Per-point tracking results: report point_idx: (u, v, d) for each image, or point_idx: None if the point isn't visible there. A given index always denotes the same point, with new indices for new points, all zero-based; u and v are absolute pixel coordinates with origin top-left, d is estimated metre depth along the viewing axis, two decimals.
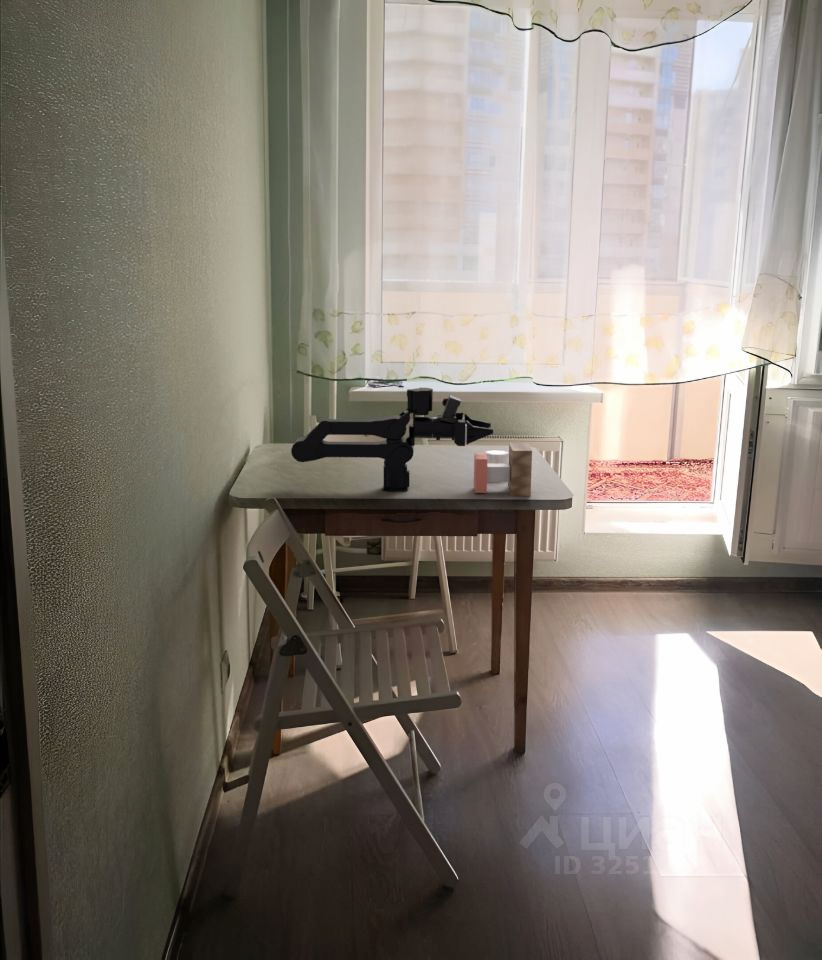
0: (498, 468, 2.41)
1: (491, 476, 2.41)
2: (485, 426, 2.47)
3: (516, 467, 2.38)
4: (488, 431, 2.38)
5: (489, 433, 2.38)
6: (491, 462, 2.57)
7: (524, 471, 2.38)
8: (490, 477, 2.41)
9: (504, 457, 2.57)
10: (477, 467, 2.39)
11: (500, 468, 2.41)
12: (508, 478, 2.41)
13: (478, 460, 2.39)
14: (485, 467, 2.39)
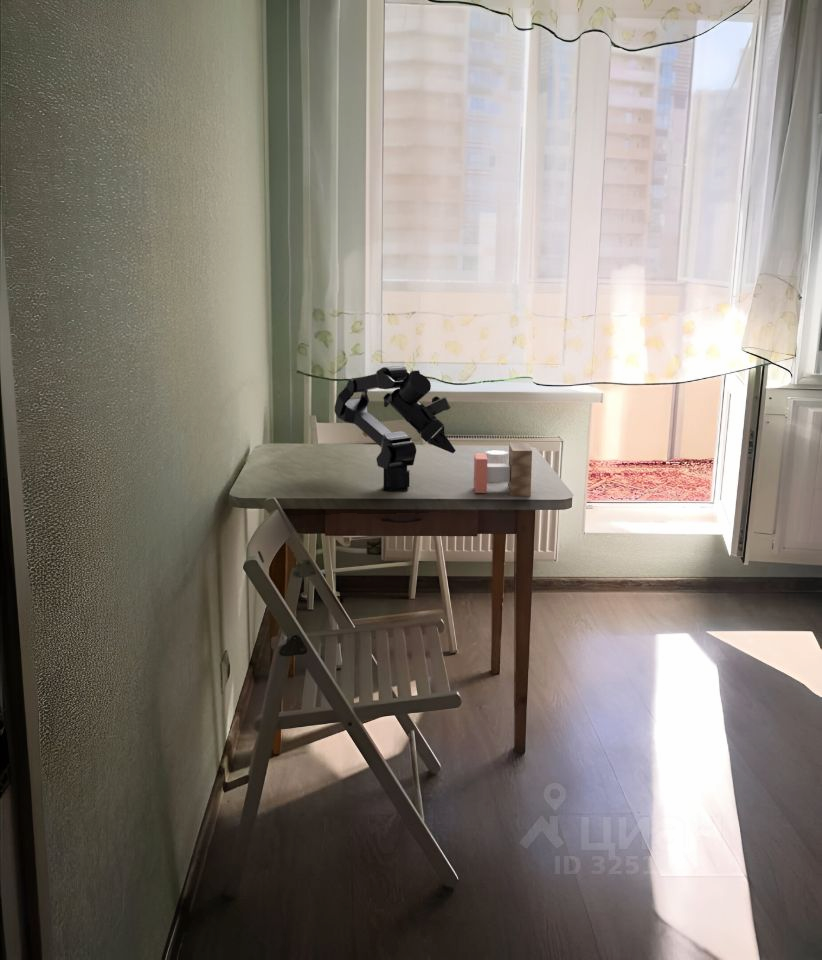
0: (498, 468, 2.41)
1: (491, 476, 2.41)
2: None
3: (516, 467, 2.38)
4: (451, 449, 2.36)
5: (450, 450, 2.36)
6: (491, 462, 2.57)
7: (524, 471, 2.38)
8: (490, 477, 2.41)
9: (504, 457, 2.57)
10: (477, 467, 2.39)
11: (500, 468, 2.41)
12: (508, 478, 2.41)
13: (478, 460, 2.39)
14: (485, 467, 2.39)
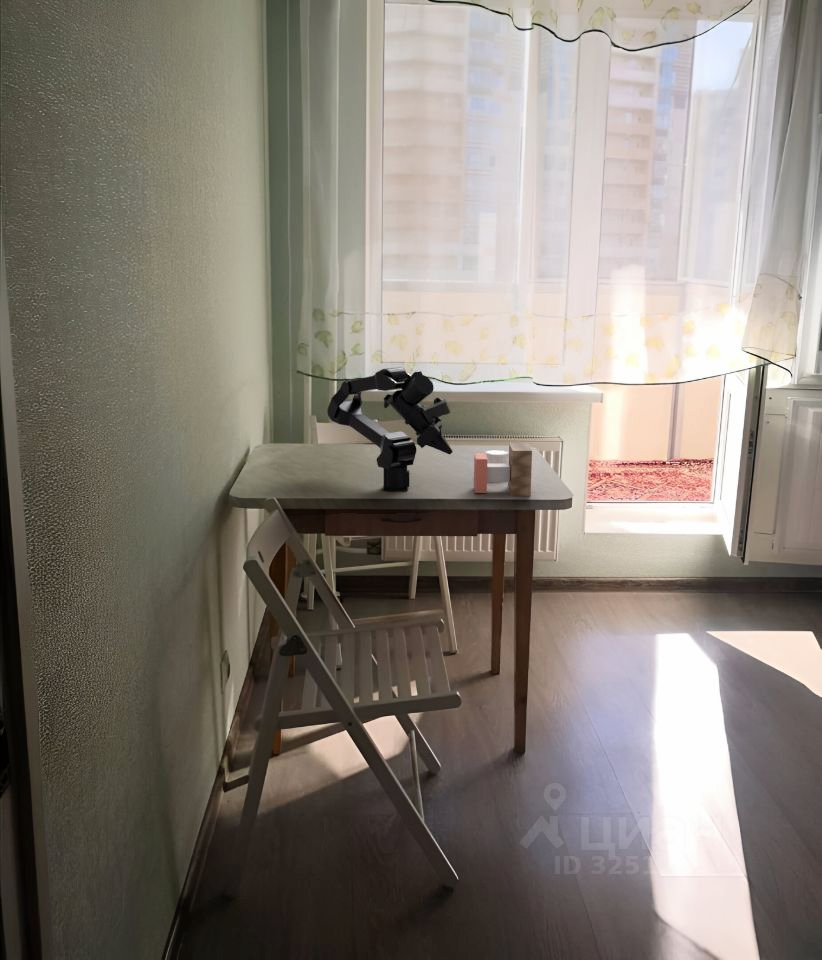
0: (498, 468, 2.41)
1: (491, 476, 2.41)
2: None
3: (516, 467, 2.38)
4: (448, 450, 2.41)
5: (447, 452, 2.41)
6: (491, 462, 2.57)
7: (524, 471, 2.38)
8: (490, 477, 2.41)
9: (504, 457, 2.57)
10: (477, 467, 2.39)
11: (500, 468, 2.41)
12: (508, 478, 2.41)
13: (478, 460, 2.39)
14: (485, 467, 2.39)
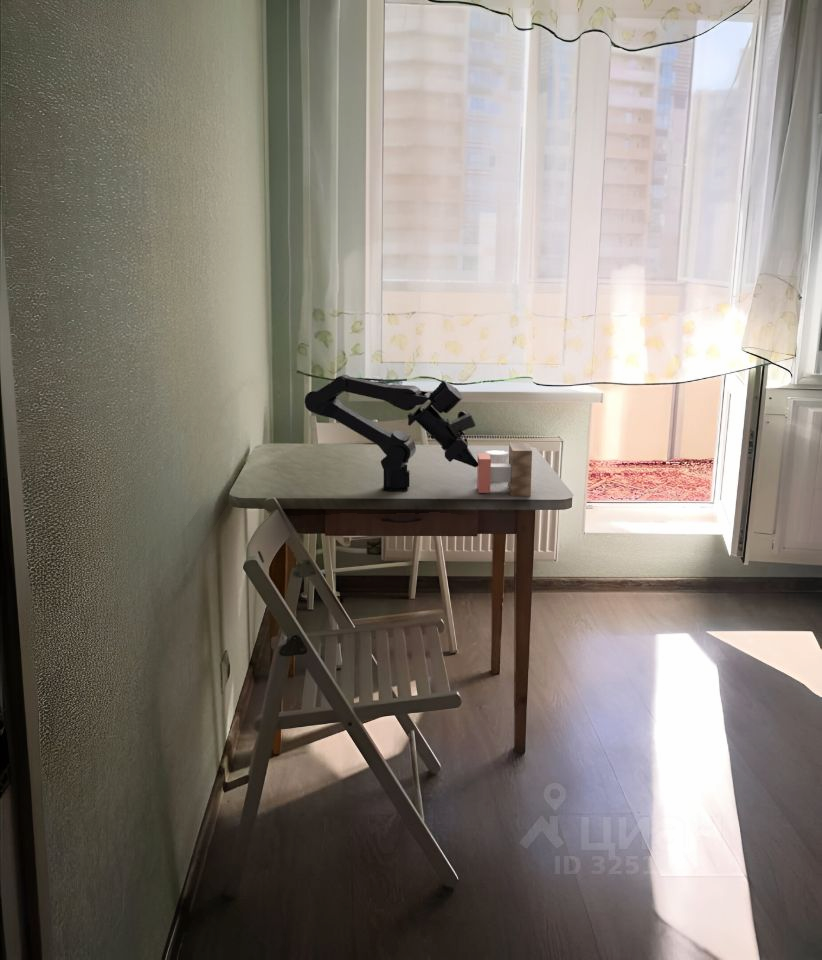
0: (501, 468, 2.41)
1: (494, 476, 2.41)
2: None
3: (516, 467, 2.38)
4: (474, 463, 2.42)
5: (473, 465, 2.42)
6: (491, 462, 2.57)
7: (524, 471, 2.38)
8: (493, 477, 2.41)
9: (504, 457, 2.57)
10: (480, 467, 2.39)
11: (503, 468, 2.41)
12: None
13: (481, 460, 2.39)
14: (488, 467, 2.39)
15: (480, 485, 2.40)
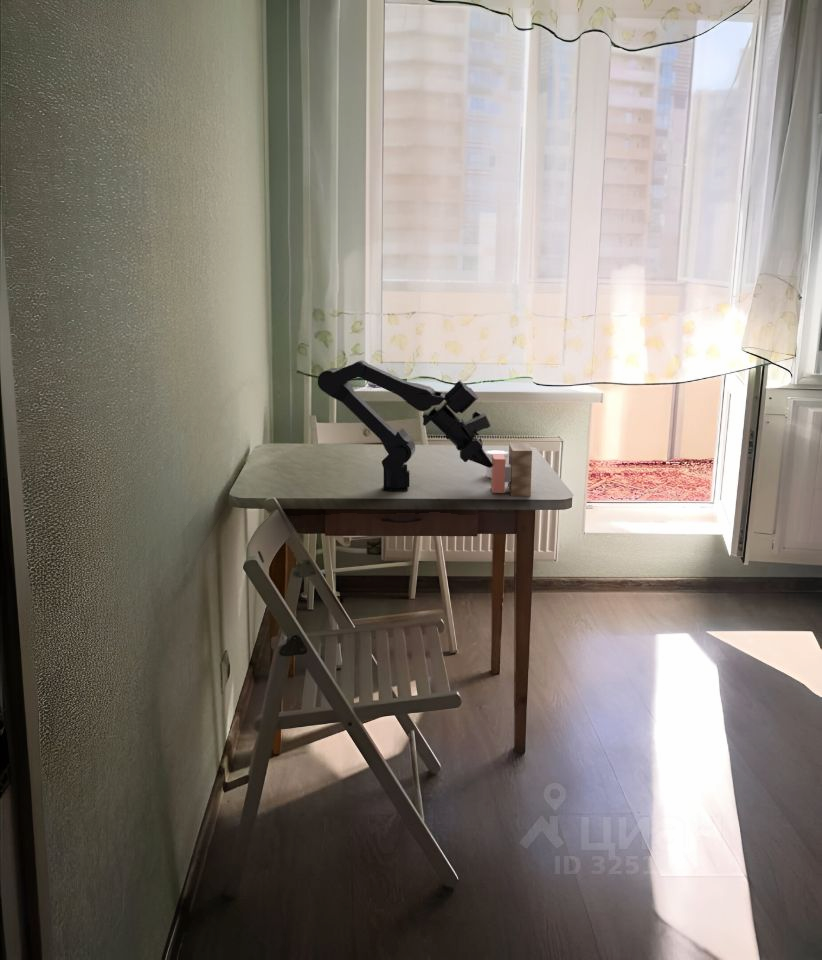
0: None
1: (509, 476, 2.41)
2: None
3: (516, 467, 2.38)
4: (488, 463, 2.42)
5: (488, 465, 2.42)
6: (491, 462, 2.57)
7: (524, 471, 2.38)
8: (508, 477, 2.41)
9: None
10: (495, 467, 2.39)
11: None
12: None
13: (496, 460, 2.39)
14: (503, 467, 2.39)
15: (495, 485, 2.40)
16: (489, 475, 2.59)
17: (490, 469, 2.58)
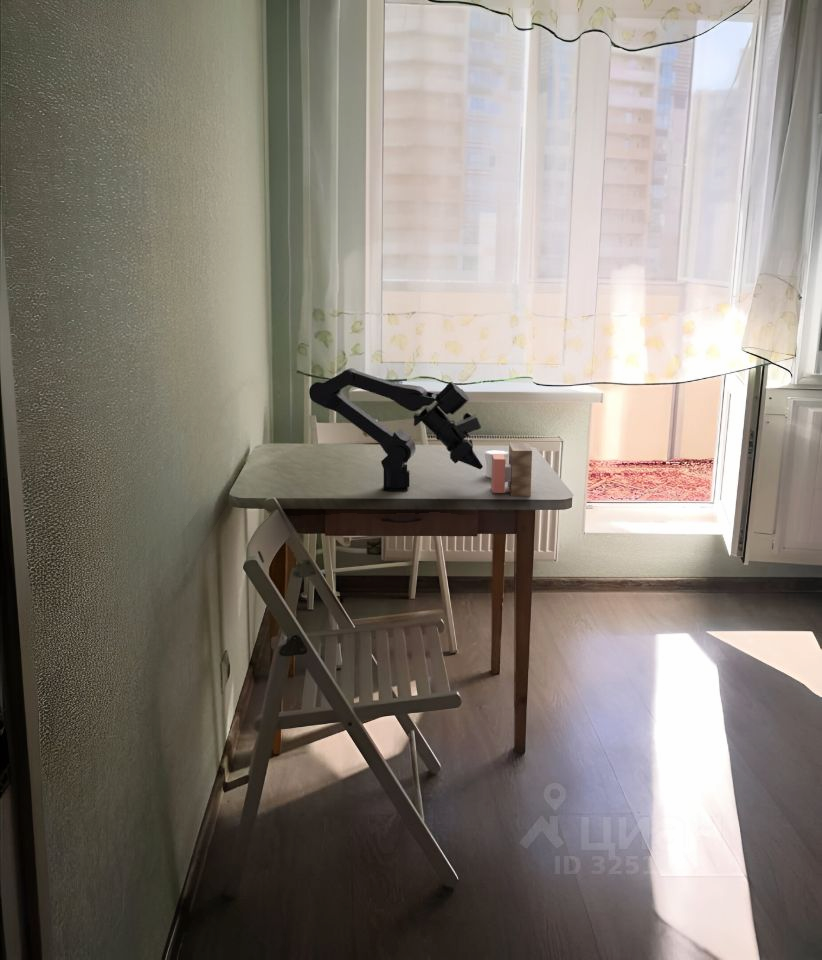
0: None
1: (509, 476, 2.41)
2: None
3: (516, 467, 2.38)
4: (478, 465, 2.42)
5: (478, 467, 2.42)
6: (491, 462, 2.57)
7: (524, 471, 2.38)
8: (508, 477, 2.41)
9: None
10: (495, 467, 2.39)
11: None
12: None
13: (496, 460, 2.39)
14: (503, 467, 2.39)
15: (495, 485, 2.40)
16: (489, 475, 2.59)
17: (490, 469, 2.58)
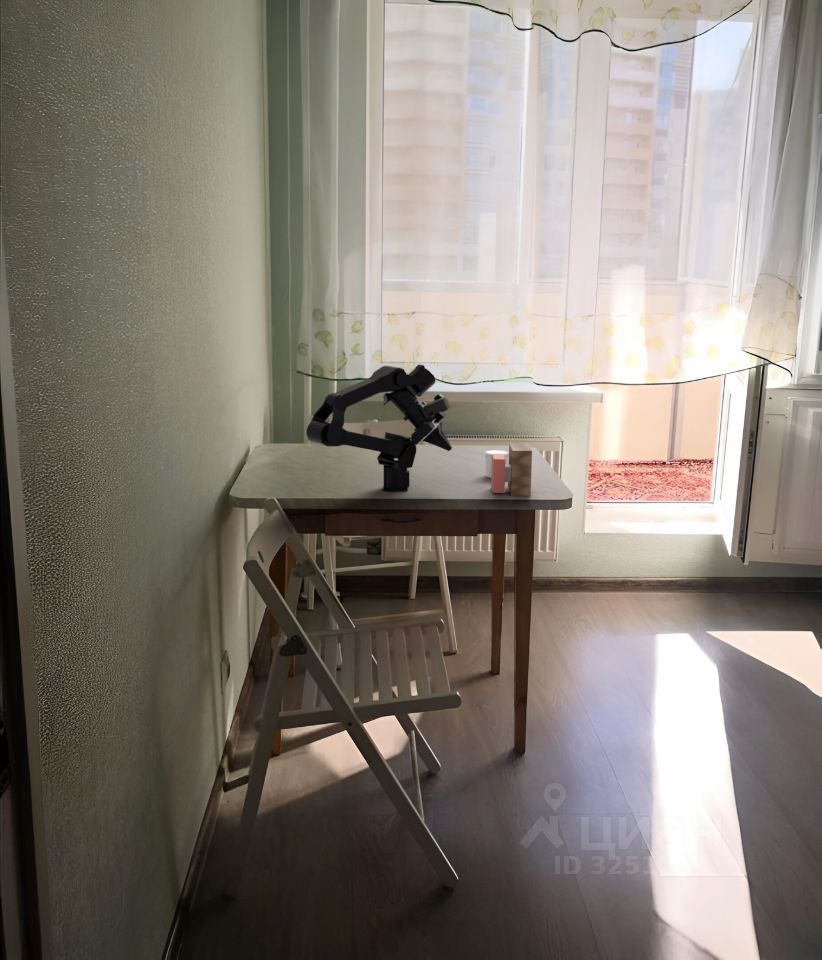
0: None
1: (509, 476, 2.41)
2: None
3: (516, 467, 2.38)
4: (447, 447, 2.43)
5: (446, 448, 2.43)
6: (491, 462, 2.57)
7: (524, 471, 2.38)
8: (508, 477, 2.41)
9: None
10: (495, 467, 2.39)
11: None
12: None
13: (496, 460, 2.39)
14: (503, 467, 2.39)
15: (495, 485, 2.40)
16: (489, 475, 2.59)
17: (490, 469, 2.58)
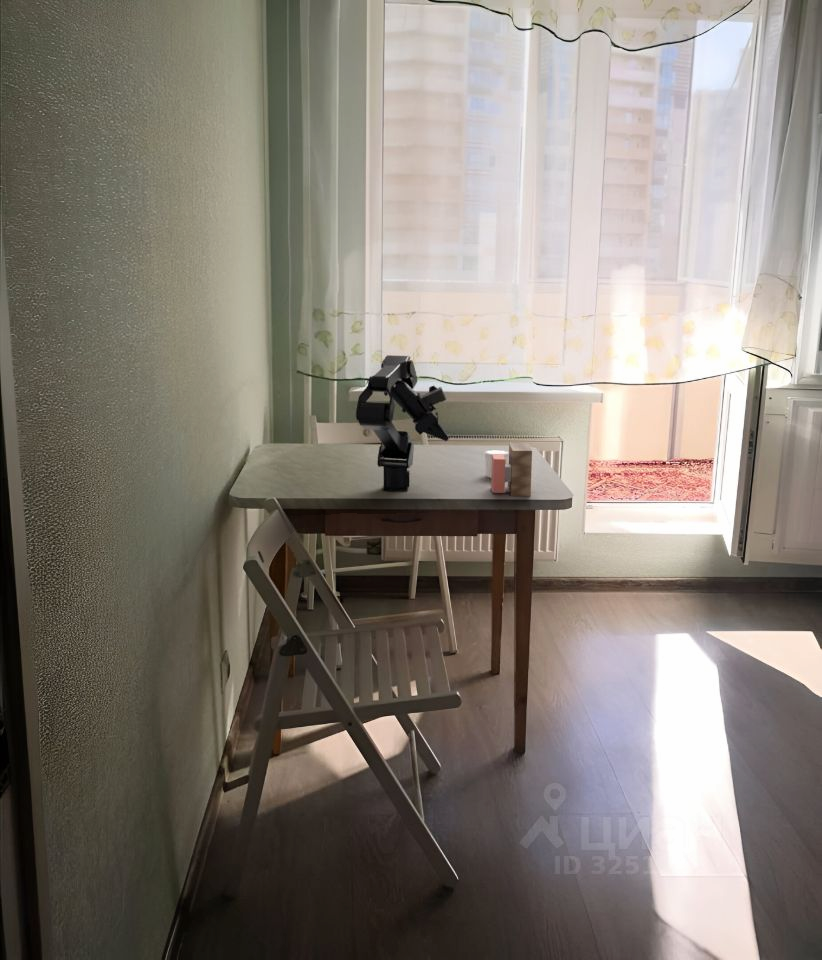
0: None
1: (509, 476, 2.41)
2: None
3: (516, 467, 2.38)
4: (444, 437, 2.47)
5: (444, 438, 2.47)
6: (491, 462, 2.57)
7: (524, 471, 2.38)
8: (508, 477, 2.41)
9: None
10: (495, 467, 2.39)
11: None
12: None
13: (496, 460, 2.39)
14: (503, 467, 2.39)
15: (495, 485, 2.40)
16: (489, 475, 2.59)
17: (490, 469, 2.58)
